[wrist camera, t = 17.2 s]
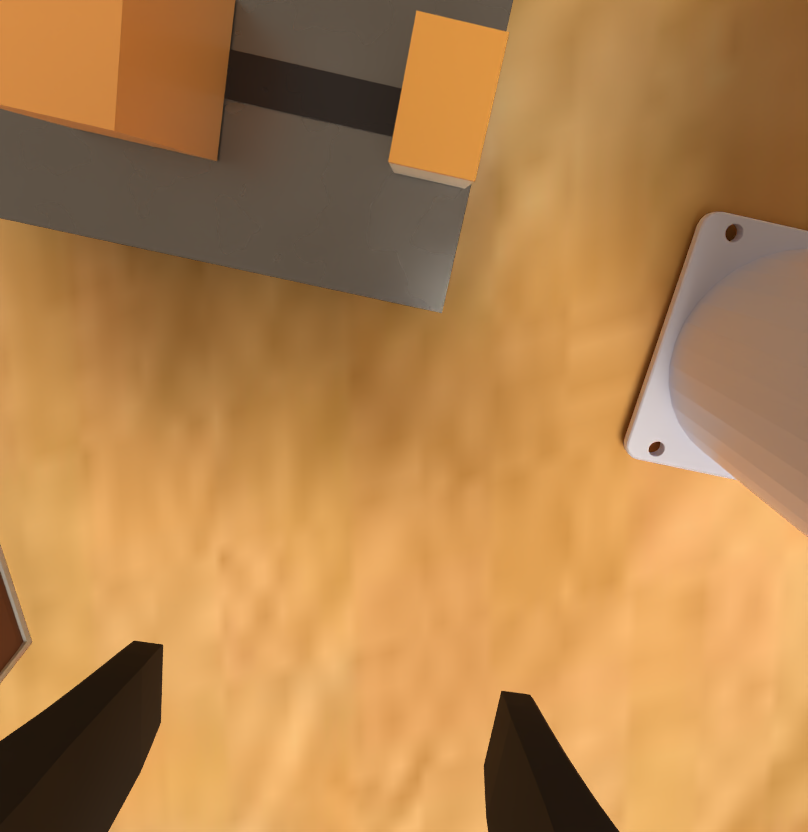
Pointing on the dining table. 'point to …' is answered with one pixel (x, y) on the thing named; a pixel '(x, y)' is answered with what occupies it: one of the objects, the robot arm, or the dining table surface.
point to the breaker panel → (270, 160)
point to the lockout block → (120, 68)
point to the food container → (10, 623)
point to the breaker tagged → (446, 99)
